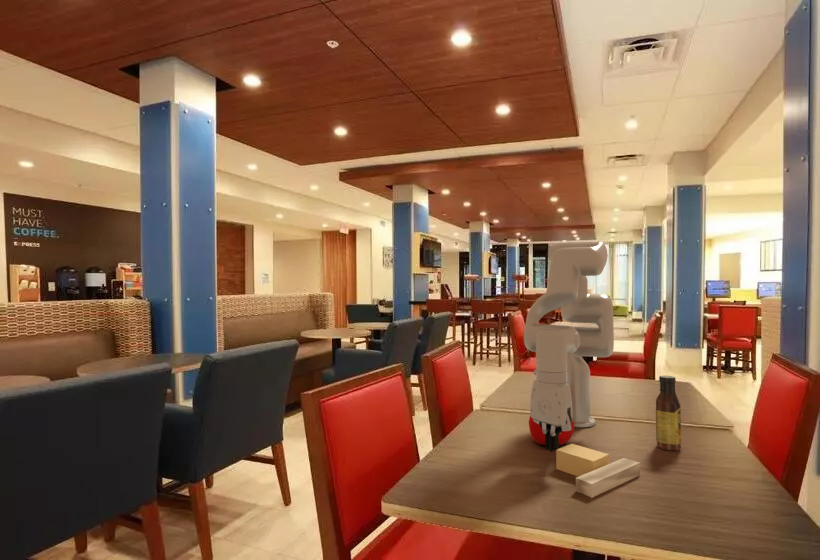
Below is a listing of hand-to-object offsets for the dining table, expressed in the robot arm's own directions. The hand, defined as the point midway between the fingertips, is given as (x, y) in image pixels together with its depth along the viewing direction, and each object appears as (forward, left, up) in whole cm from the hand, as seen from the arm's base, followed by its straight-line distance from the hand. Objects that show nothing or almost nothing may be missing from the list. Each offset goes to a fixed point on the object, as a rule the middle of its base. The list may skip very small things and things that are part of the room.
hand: (551, 449), depth 120 cm
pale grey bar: (+14, +2, -4) cm, 15 cm away
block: (+7, +3, -4) cm, 9 cm away
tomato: (-11, +14, -4) cm, 18 cm away
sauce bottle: (+11, +37, -4) cm, 39 cm away
